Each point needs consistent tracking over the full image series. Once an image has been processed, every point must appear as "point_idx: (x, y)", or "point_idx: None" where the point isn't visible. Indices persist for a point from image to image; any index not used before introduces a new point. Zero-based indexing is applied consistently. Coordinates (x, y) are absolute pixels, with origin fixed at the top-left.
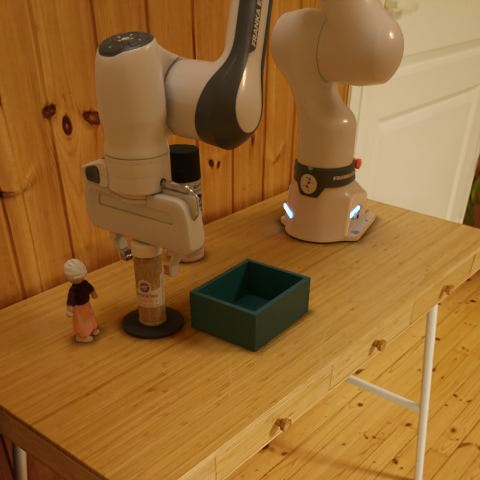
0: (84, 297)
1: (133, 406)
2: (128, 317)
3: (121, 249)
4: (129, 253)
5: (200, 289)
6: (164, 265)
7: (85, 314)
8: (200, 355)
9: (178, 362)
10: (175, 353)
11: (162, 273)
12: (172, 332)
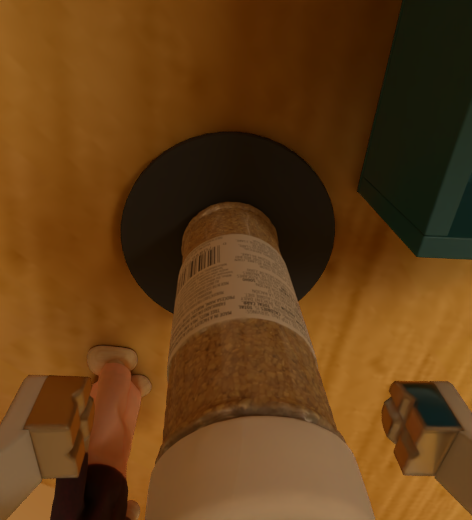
0: (123, 507)
1: (388, 468)
2: (146, 270)
3: (38, 471)
4: (79, 421)
5: (456, 205)
6: (408, 471)
7: (129, 450)
8: (449, 296)
9: (406, 344)
10: (380, 321)
11: (311, 346)
12: (327, 261)
